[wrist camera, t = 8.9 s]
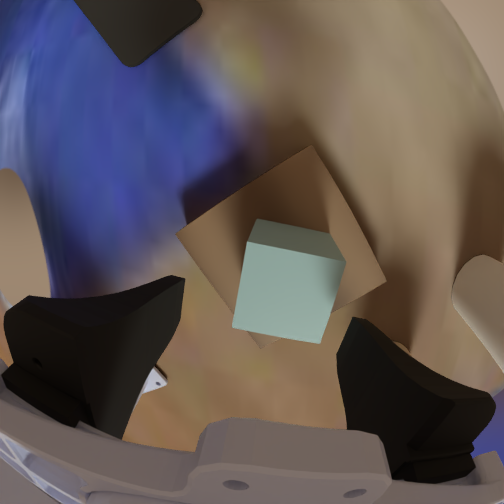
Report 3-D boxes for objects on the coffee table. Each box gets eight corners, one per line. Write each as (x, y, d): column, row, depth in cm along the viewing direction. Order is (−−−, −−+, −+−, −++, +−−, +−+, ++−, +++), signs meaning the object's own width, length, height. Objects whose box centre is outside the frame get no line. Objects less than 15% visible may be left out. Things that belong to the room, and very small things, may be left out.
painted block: (312, 299, 19) (319, 343, 14) (244, 286, 19) (231, 327, 14) (329, 233, 17) (346, 261, 13) (256, 218, 18) (247, 241, 13)
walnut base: (263, 326, 23) (260, 348, 20) (188, 223, 21) (175, 233, 18) (374, 265, 21) (386, 281, 18) (306, 146, 19) (311, 144, 16)
